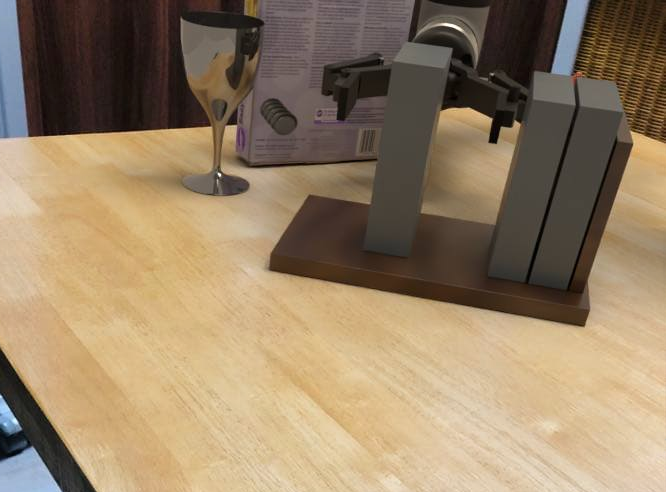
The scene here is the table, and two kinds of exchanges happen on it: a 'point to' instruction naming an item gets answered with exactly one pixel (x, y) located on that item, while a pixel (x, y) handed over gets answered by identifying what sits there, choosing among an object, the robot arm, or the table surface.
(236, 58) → the wine glass
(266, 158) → the cake pan box
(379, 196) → the grey book
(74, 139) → the table surface
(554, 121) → the matching books
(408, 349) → the table surface
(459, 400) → the table surface
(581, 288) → the book rack
